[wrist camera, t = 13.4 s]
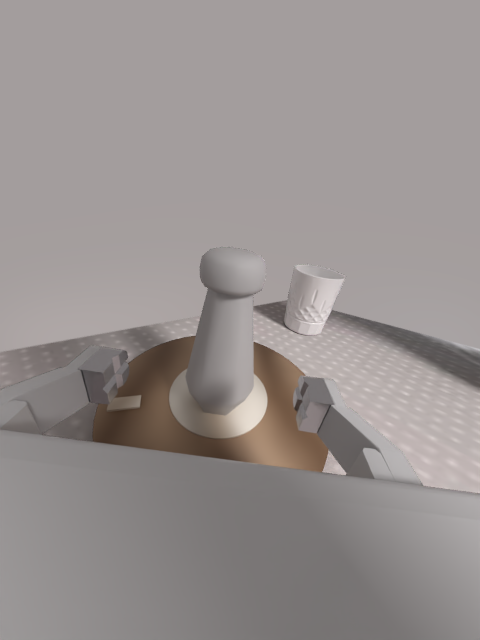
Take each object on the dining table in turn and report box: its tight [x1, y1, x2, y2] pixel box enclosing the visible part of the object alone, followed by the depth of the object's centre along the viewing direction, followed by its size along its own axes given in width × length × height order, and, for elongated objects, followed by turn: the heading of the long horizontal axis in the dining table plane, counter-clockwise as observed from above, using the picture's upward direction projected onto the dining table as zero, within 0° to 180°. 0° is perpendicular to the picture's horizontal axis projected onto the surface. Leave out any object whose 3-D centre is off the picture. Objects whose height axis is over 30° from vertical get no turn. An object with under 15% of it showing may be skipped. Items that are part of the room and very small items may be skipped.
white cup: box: [284, 264, 345, 335], centre depth 37 cm, size 8×8×10 cm
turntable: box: [93, 336, 328, 472], centre depth 21 cm, size 20×20×1 cm
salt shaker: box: [185, 247, 266, 416], centre depth 17 cm, size 6×6×13 cm
